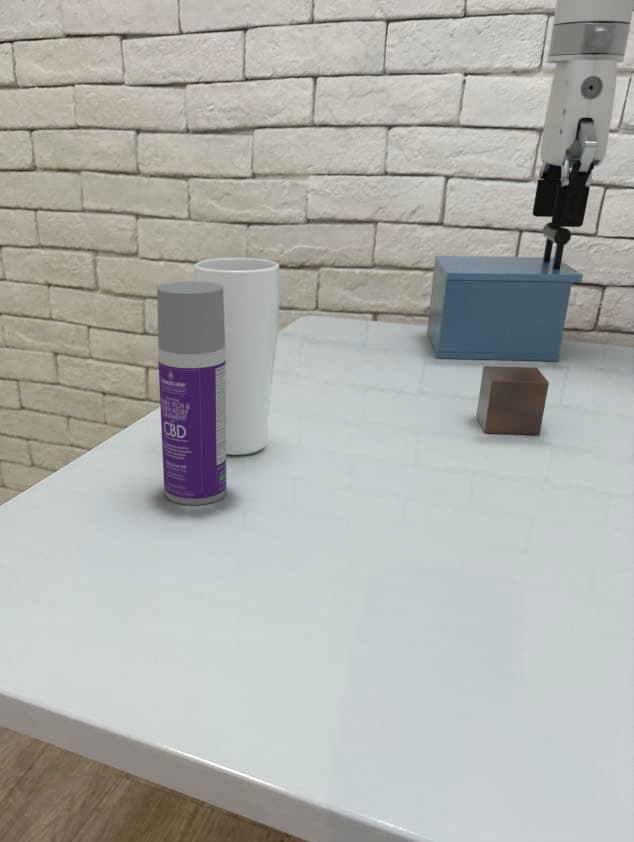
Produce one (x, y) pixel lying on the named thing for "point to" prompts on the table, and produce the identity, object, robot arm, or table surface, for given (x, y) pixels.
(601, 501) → the table surface
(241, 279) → the drinking glass
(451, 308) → the blue storage box
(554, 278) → the lid
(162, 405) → the container
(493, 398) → the block
